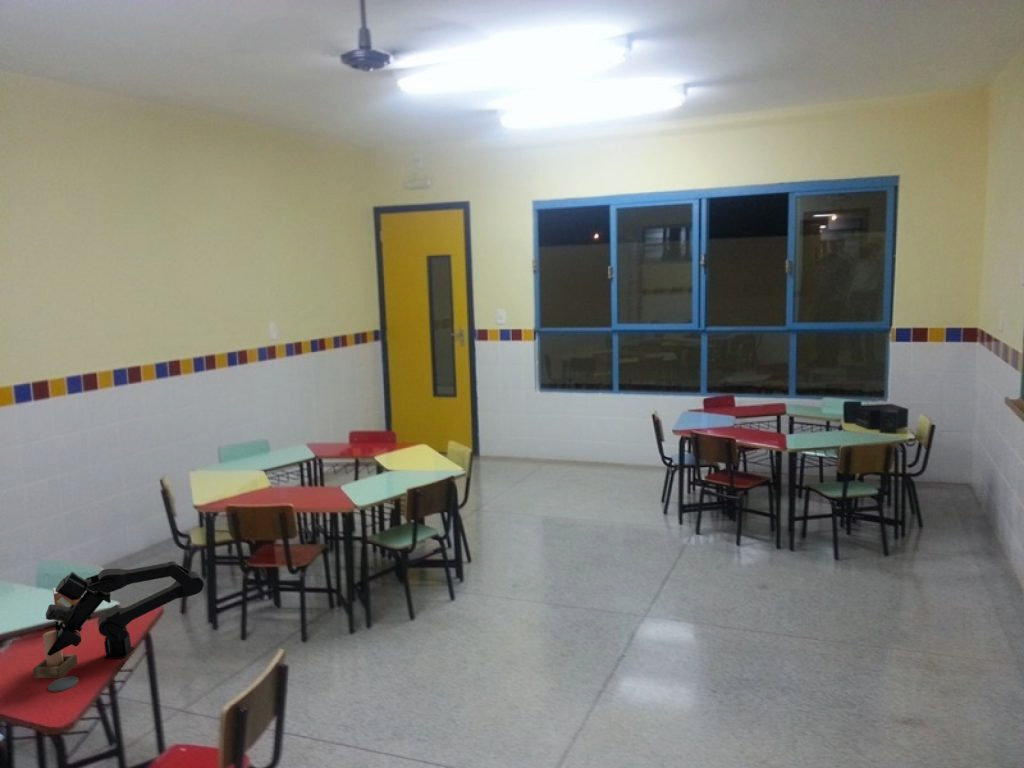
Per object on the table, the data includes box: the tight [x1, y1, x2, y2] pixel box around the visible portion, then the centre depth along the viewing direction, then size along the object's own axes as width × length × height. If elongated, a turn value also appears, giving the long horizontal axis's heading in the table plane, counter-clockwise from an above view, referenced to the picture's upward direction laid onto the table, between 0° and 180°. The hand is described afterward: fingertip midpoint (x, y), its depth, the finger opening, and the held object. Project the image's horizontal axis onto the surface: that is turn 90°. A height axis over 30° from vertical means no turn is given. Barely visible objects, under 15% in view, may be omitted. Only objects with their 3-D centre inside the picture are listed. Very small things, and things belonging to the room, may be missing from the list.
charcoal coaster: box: [47, 675, 79, 693], centre depth 221 cm, size 8×8×1 cm
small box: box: [52, 586, 82, 622], centre depth 261 cm, size 8×6×13 cm
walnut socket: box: [32, 654, 79, 679], centre depth 229 cm, size 8×8×3 cm
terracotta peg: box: [42, 629, 64, 667], centre depth 229 cm, size 4×4×12 cm
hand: (48, 651), depth 228 cm, fingers closed on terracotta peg, 4 cm apart
